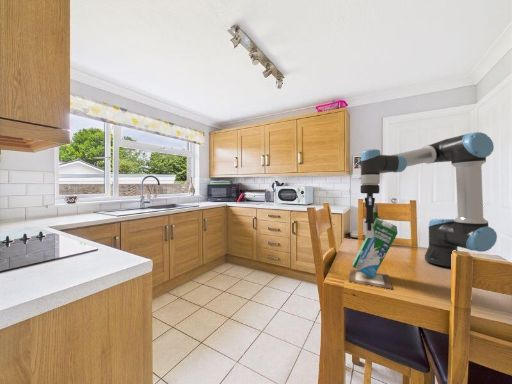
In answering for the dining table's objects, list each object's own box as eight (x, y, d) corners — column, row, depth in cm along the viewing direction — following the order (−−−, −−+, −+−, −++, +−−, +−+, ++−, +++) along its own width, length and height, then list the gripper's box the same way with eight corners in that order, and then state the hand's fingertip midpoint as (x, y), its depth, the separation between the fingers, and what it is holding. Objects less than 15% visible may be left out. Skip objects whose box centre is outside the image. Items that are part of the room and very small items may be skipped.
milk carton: (352, 267, 99) (378, 218, 96) (352, 262, 108) (376, 217, 104) (372, 278, 96) (400, 228, 92) (371, 272, 104) (396, 226, 101)
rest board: (387, 276, 101) (387, 274, 101) (392, 290, 87) (392, 288, 87) (350, 270, 108) (350, 268, 108) (348, 283, 94) (349, 280, 94)
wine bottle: (371, 244, 162) (371, 204, 162) (383, 246, 156) (383, 204, 156) (367, 246, 157) (367, 204, 156) (379, 248, 151) (379, 205, 151)
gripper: (360, 185, 105) (359, 234, 105) (360, 184, 93) (359, 239, 93) (378, 185, 102) (377, 235, 102) (380, 184, 90) (379, 241, 90)
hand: (369, 237), depth 97 cm, fingers closed, pressing on milk carton
